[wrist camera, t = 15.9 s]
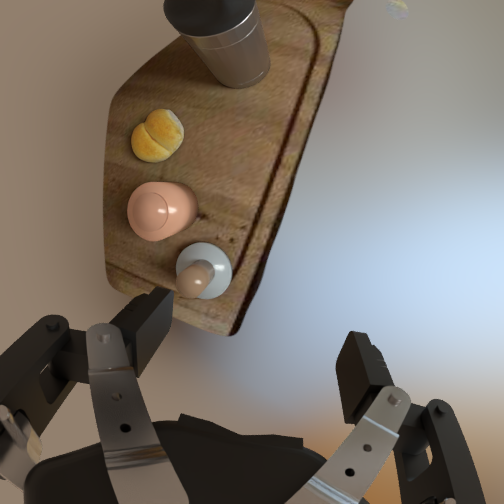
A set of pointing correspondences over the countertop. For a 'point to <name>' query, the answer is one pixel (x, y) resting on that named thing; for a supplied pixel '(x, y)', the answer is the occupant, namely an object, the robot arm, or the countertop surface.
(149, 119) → the bread roll
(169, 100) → the countertop surface
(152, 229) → the canister
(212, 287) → the lid
